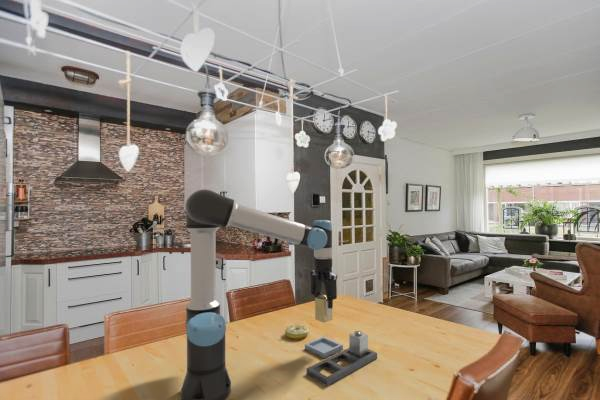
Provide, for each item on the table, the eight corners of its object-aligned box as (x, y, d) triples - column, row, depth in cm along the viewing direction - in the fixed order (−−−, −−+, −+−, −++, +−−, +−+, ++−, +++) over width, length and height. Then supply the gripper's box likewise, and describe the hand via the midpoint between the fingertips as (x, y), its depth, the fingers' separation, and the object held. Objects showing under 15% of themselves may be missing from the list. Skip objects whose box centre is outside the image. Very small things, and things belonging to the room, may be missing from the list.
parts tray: (324, 358, 119) (324, 353, 119) (304, 348, 127) (304, 344, 127) (342, 349, 126) (342, 344, 127) (323, 341, 135) (323, 336, 135)
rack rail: (327, 386, 101) (327, 380, 101) (306, 374, 108) (306, 368, 108) (377, 358, 119) (377, 352, 119) (356, 349, 127) (356, 344, 127)
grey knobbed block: (360, 362, 116) (359, 336, 116) (349, 357, 120) (349, 332, 120) (367, 358, 120) (367, 332, 120) (357, 353, 123) (357, 328, 124)
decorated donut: (312, 334, 143) (312, 325, 143) (301, 342, 134) (301, 334, 134) (293, 329, 148) (293, 321, 148) (281, 337, 139) (281, 329, 139)
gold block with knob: (324, 322, 124) (323, 298, 124) (315, 319, 127) (315, 295, 128) (332, 319, 127) (332, 295, 127) (323, 316, 131) (323, 293, 131)
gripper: (345, 259, 123) (346, 317, 123) (314, 254, 137) (314, 306, 137) (333, 261, 118) (333, 322, 118) (301, 256, 132) (302, 310, 132)
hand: (323, 313), depth 127 cm, fingers closed on gold block with knob, 5 cm apart
